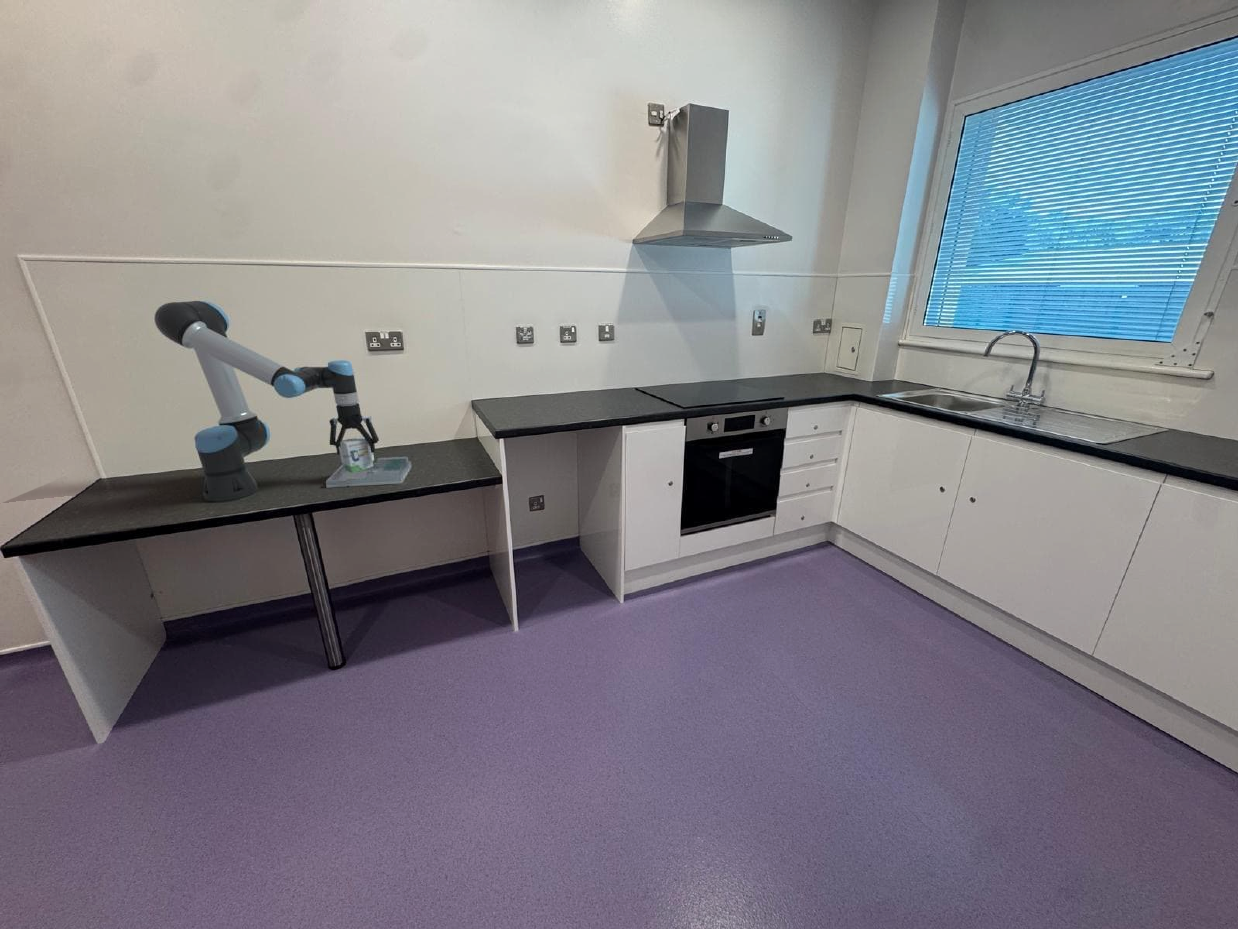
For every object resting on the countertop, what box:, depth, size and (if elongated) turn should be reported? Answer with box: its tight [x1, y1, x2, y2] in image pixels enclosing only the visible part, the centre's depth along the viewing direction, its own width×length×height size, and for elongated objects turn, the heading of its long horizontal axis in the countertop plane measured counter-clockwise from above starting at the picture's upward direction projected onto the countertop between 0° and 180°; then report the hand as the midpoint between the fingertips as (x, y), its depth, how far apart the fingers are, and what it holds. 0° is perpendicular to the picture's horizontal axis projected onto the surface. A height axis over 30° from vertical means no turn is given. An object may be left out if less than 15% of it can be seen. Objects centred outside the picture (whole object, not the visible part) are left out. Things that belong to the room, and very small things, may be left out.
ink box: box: [340, 435, 374, 473], centre depth 187 cm, size 9×5×12 cm, turn 143°
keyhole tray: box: [325, 456, 413, 489], centre depth 190 cm, size 26×18×4 cm
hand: (358, 461), depth 188 cm, fingers closed on ink box, 9 cm apart
